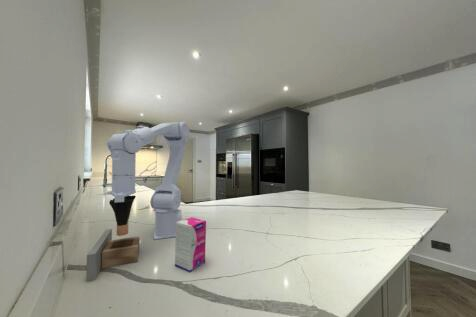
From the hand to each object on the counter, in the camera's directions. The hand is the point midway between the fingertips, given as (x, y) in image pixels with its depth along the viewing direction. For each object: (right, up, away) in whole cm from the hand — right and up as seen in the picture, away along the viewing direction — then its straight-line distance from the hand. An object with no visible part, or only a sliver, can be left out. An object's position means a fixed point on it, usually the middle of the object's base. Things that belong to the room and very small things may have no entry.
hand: (123, 223), depth 53 cm
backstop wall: (-5, -10, -2) cm, 11 cm away
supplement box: (+20, -10, -3) cm, 23 cm away
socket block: (0, -10, 0) cm, 10 cm away
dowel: (0, -3, 0) cm, 3 cm away
